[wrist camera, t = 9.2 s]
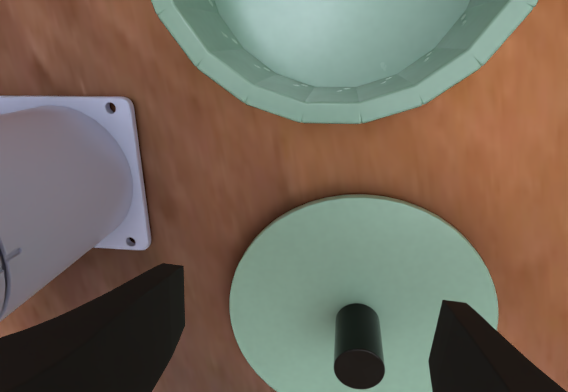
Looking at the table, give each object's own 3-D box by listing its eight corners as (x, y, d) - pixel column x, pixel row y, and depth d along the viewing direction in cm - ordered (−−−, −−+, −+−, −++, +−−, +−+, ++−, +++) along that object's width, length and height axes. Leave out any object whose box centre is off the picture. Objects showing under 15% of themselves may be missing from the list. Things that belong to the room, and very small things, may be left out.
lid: (240, 393, 25) (218, 462, 21) (227, 184, 21) (197, 220, 17) (471, 417, 24) (497, 498, 19) (513, 194, 19) (560, 237, 15)
